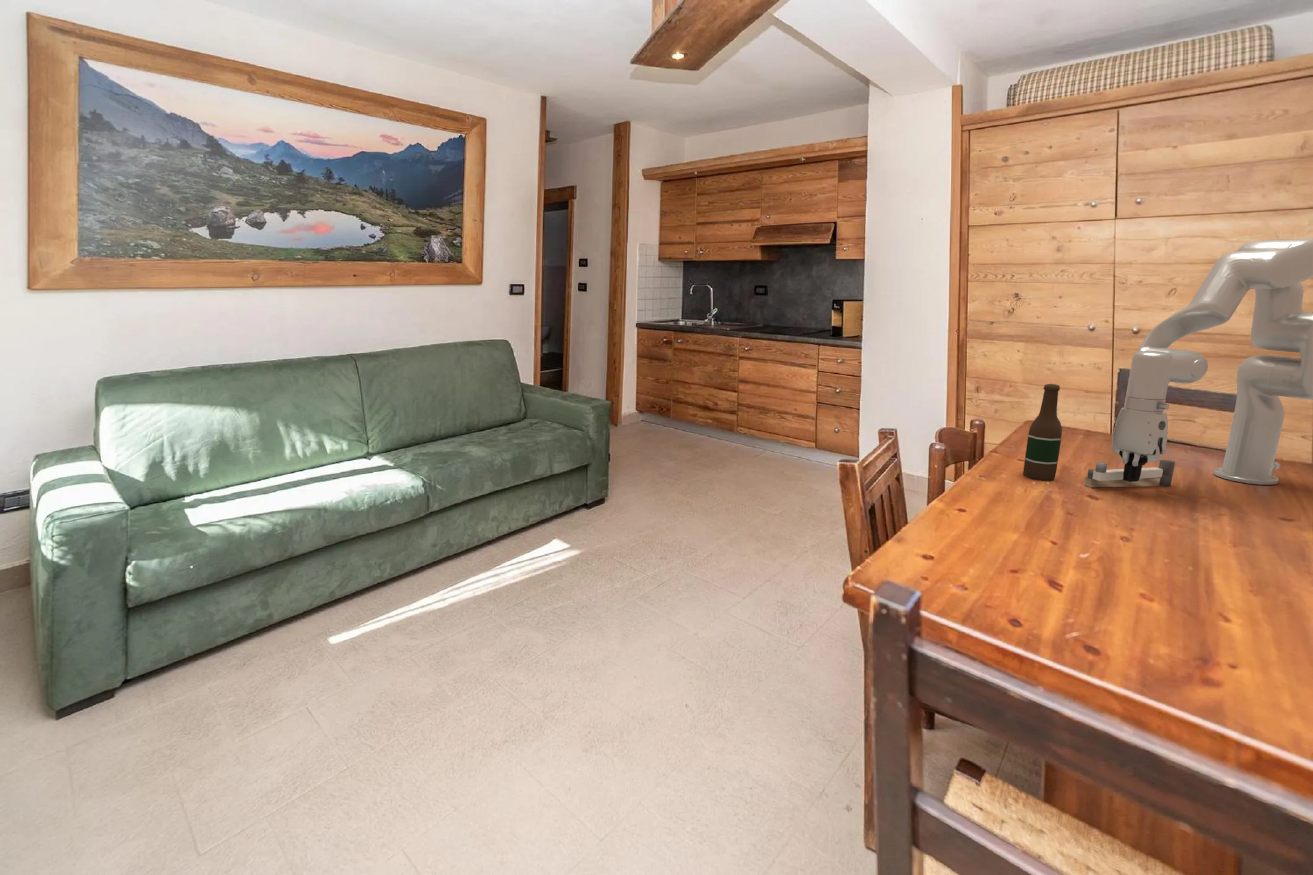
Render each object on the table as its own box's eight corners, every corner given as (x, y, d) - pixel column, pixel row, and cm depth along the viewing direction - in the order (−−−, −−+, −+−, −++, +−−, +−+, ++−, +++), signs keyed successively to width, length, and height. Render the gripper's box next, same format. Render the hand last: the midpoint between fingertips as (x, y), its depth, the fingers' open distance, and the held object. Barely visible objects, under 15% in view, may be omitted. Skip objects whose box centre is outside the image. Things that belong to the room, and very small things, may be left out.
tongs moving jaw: (1154, 474, 167) (1156, 459, 166) (1162, 477, 165) (1164, 461, 164) (1091, 478, 164) (1094, 462, 163) (1099, 481, 162) (1101, 465, 161)
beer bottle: (1061, 482, 169) (1075, 387, 163) (1027, 480, 170) (1040, 386, 165) (1049, 473, 176) (1063, 383, 170) (1017, 471, 178) (1030, 381, 172)
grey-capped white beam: (1163, 482, 169) (1168, 459, 167) (1173, 486, 166) (1178, 462, 165) (1082, 484, 167) (1086, 460, 166) (1091, 487, 164) (1095, 464, 163)
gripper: (1189, 409, 150) (1174, 488, 154) (1124, 398, 164) (1112, 471, 168) (1165, 411, 147) (1150, 491, 152) (1102, 400, 161) (1090, 473, 165)
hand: (1130, 480), depth 160 cm, fingers closed
